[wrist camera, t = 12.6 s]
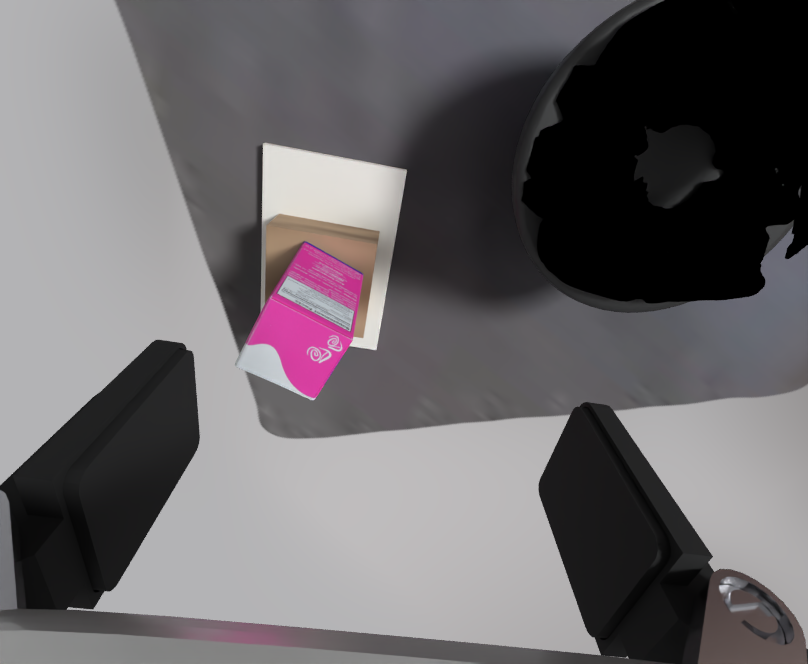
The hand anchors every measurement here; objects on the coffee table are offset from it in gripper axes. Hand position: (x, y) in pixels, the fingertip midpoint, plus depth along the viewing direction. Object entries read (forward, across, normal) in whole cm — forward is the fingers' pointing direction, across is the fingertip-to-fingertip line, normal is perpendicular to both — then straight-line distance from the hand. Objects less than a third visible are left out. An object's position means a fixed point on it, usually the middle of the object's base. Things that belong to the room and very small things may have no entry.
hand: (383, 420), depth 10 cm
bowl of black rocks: (+31, -17, -6) cm, 35 cm away
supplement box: (+26, +5, +8) cm, 27 cm away
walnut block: (+30, +6, +8) cm, 31 cm away
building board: (+30, +6, +7) cm, 32 cm away
